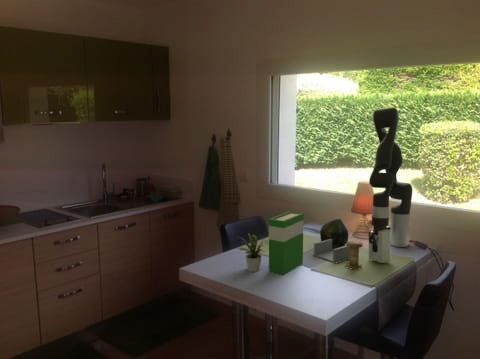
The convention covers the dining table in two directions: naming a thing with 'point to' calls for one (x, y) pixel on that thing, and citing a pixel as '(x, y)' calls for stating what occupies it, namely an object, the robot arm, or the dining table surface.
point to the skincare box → (381, 247)
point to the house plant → (253, 254)
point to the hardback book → (285, 243)
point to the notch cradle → (330, 251)
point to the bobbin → (354, 254)
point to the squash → (335, 232)
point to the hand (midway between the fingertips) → (379, 250)
